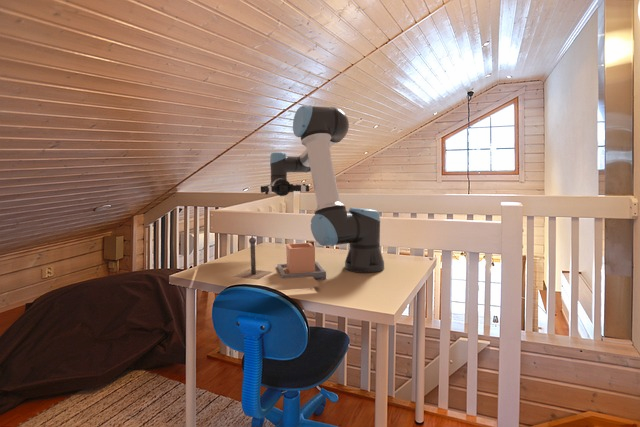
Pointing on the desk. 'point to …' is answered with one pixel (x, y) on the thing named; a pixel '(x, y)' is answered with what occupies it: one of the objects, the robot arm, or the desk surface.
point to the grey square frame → (318, 273)
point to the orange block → (300, 258)
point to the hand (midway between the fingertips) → (287, 190)
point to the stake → (253, 265)
